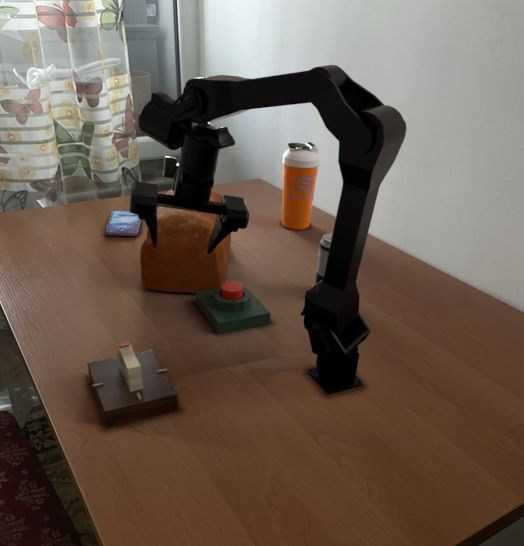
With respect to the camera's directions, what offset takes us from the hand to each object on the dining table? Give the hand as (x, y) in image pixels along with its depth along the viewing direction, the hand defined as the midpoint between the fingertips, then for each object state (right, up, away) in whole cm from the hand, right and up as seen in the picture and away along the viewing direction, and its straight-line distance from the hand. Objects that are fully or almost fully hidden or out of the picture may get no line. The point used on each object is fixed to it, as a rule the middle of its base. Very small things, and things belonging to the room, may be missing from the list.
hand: (181, 249), depth 93 cm
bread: (-2, 0, +24) cm, 24 cm away
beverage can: (+27, -6, +17) cm, 32 cm away
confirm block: (+8, -10, +9) cm, 16 cm away
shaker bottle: (+22, +15, +48) cm, 55 cm away
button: (+8, -7, +7) cm, 13 cm away
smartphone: (-20, +14, +42) cm, 48 cm away
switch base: (-5, -24, -13) cm, 27 cm away
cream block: (-5, -21, -14) cm, 26 cm away
